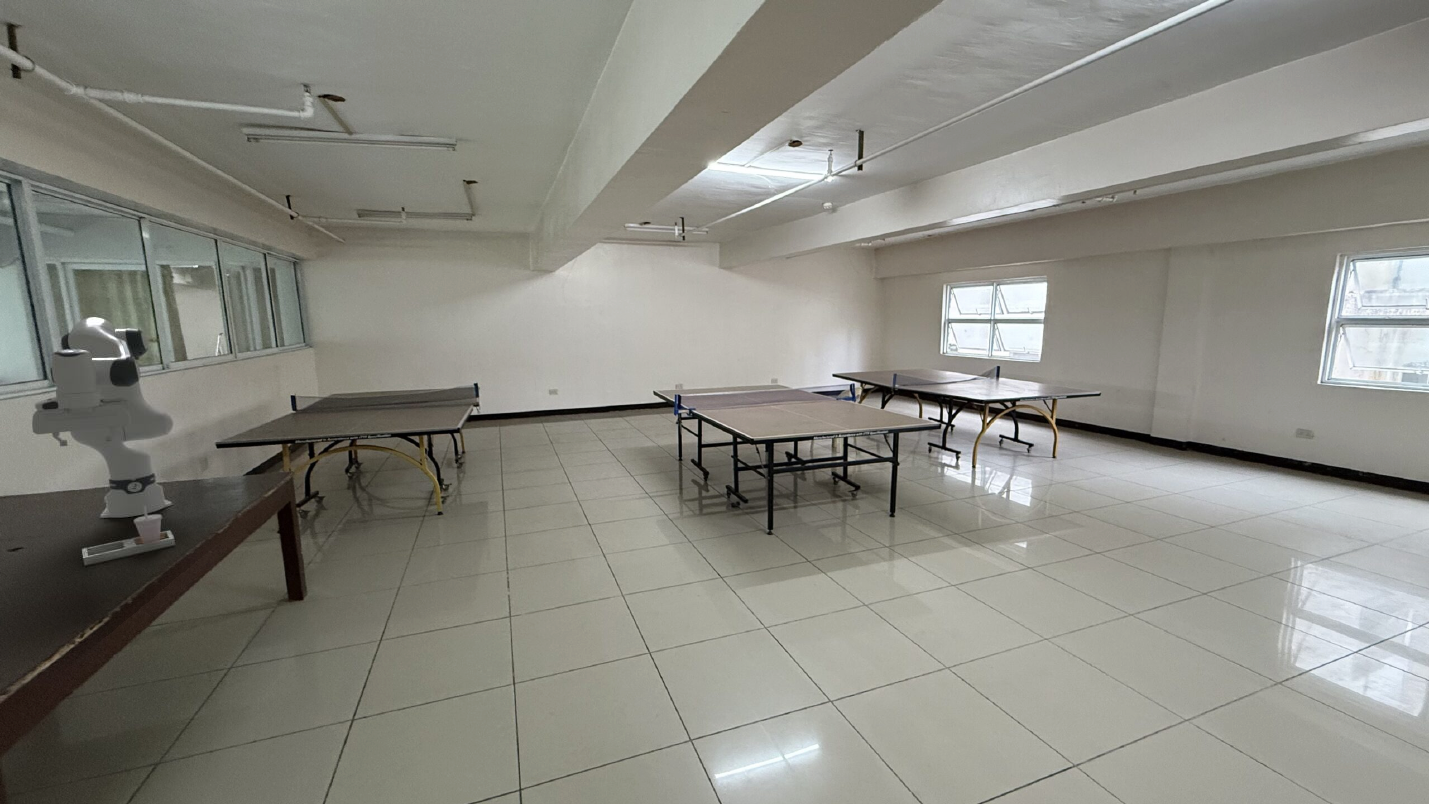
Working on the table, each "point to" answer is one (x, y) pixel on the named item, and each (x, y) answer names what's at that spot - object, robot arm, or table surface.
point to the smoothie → (148, 527)
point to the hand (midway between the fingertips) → (87, 443)
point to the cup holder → (125, 548)
